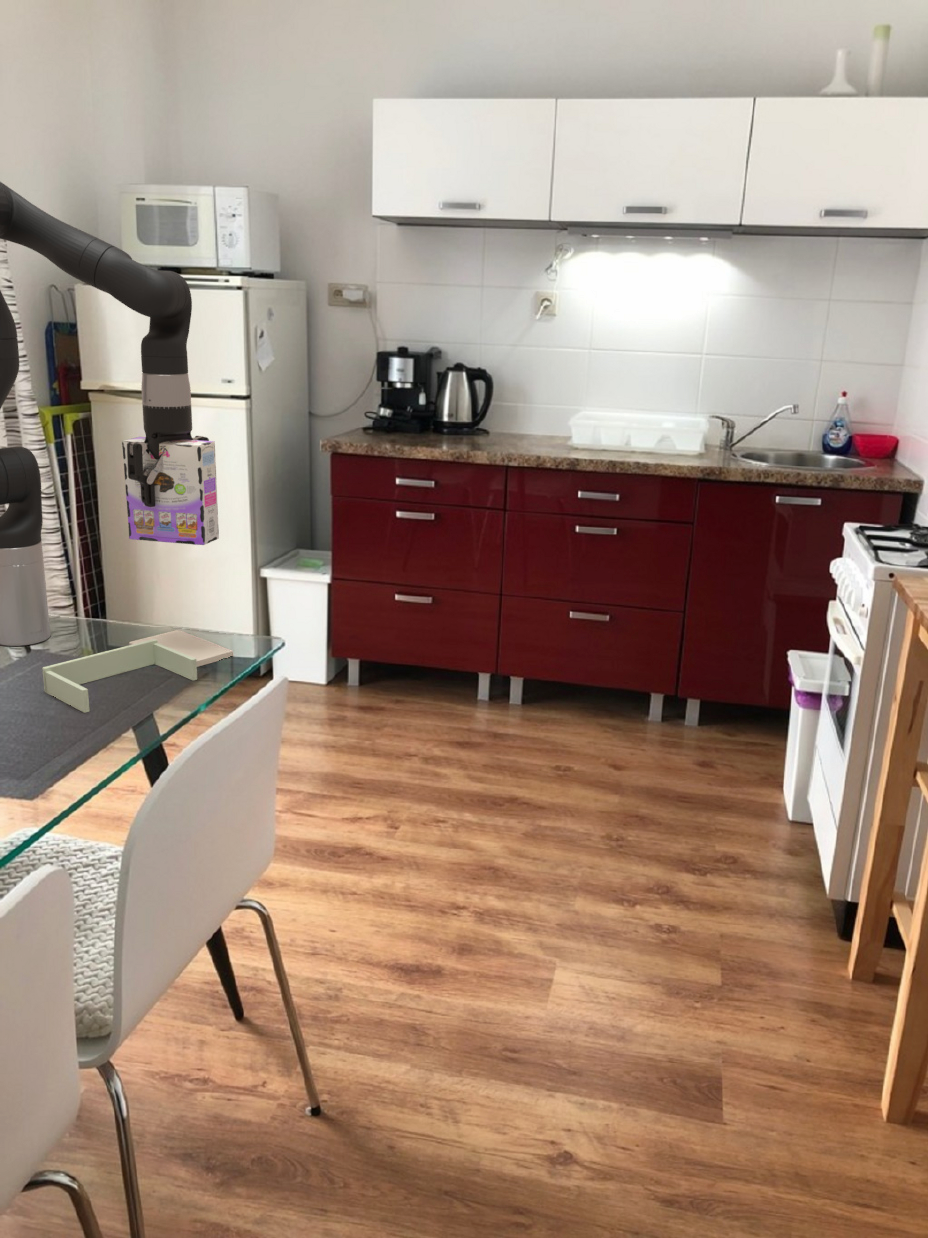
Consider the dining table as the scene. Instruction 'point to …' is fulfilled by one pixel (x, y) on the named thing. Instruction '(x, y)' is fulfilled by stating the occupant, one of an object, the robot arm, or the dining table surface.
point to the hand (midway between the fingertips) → (172, 503)
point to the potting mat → (190, 646)
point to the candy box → (176, 495)
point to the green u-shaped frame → (111, 669)
